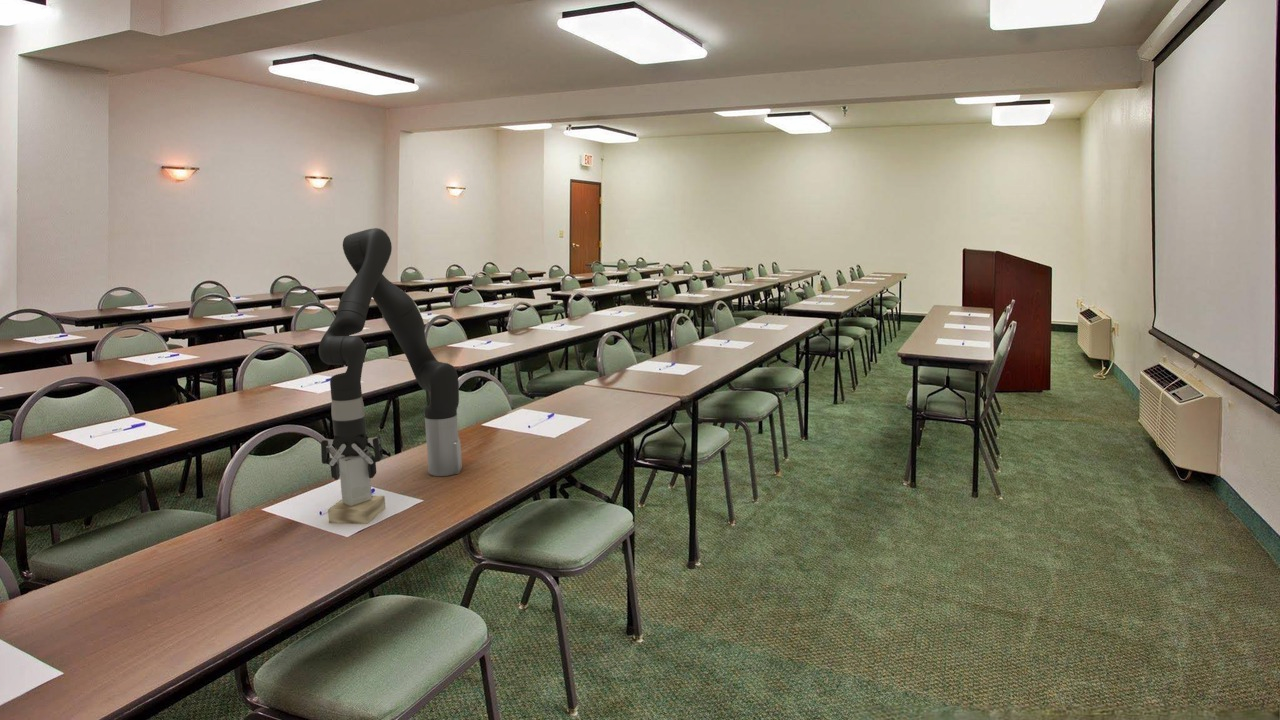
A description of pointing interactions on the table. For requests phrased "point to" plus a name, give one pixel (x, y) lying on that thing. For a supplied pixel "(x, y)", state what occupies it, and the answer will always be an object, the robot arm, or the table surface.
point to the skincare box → (354, 480)
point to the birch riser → (356, 511)
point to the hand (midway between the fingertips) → (354, 478)
